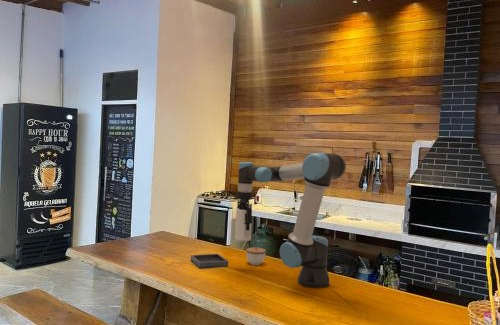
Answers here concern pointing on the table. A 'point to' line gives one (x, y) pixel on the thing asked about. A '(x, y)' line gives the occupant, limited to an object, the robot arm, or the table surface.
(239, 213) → the cup
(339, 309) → the table surface
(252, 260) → the lidded jar
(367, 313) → the table surface
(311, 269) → the robot arm
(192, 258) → the square metal tray
